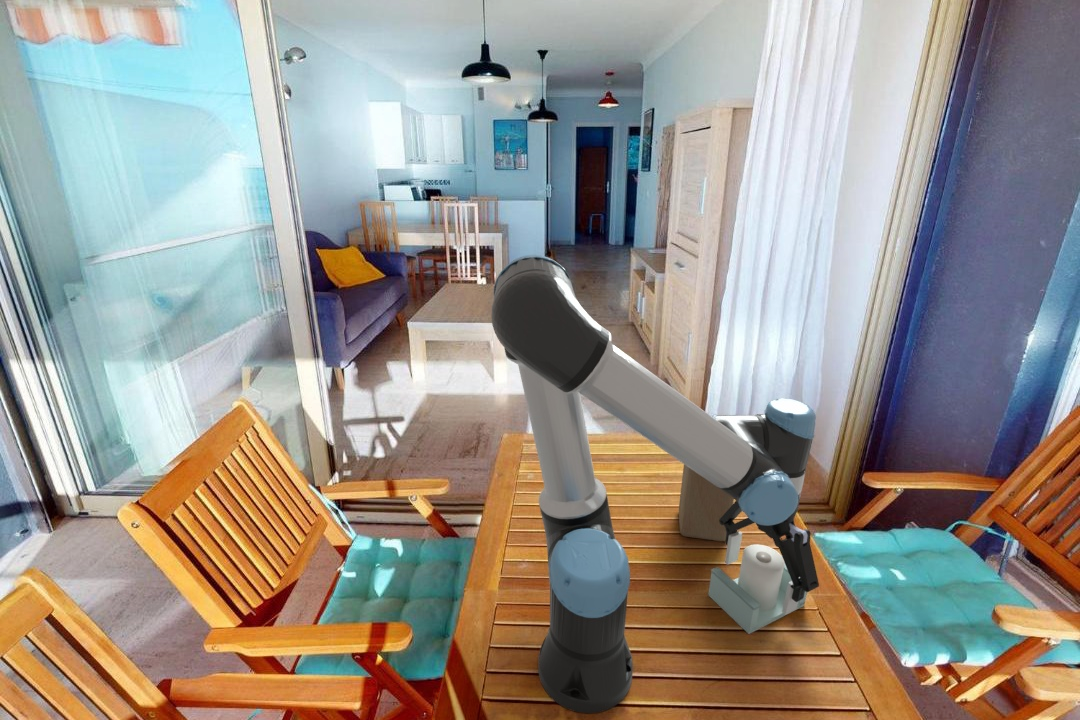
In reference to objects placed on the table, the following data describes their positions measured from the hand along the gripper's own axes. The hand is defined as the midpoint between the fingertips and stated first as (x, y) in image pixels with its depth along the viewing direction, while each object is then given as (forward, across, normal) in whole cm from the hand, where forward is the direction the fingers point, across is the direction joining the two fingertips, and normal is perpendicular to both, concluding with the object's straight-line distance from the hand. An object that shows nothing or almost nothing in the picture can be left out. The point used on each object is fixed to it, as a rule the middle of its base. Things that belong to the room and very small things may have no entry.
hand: (758, 584), depth 102 cm
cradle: (+4, 0, 0) cm, 4 cm away
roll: (+3, 0, 0) cm, 3 cm away
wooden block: (+4, +21, -6) cm, 22 cm away
